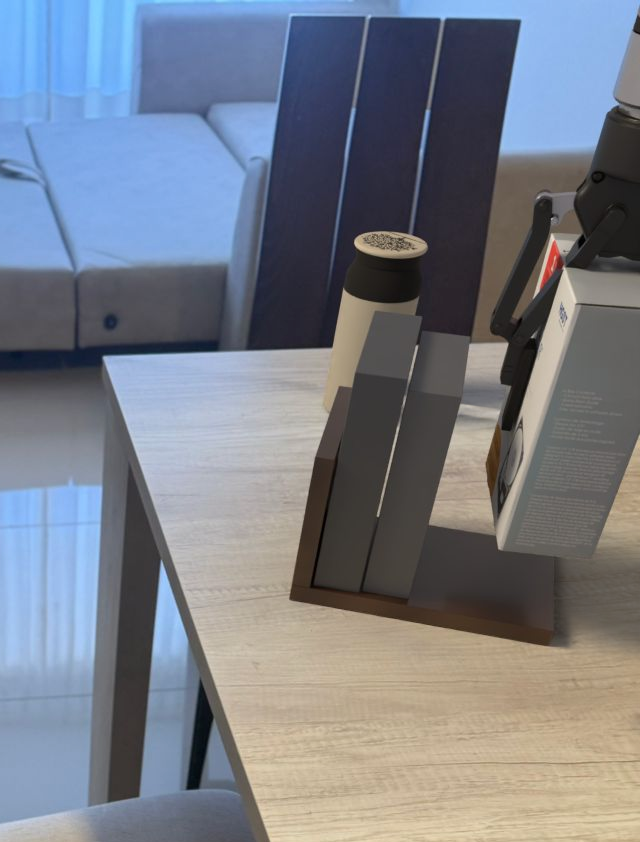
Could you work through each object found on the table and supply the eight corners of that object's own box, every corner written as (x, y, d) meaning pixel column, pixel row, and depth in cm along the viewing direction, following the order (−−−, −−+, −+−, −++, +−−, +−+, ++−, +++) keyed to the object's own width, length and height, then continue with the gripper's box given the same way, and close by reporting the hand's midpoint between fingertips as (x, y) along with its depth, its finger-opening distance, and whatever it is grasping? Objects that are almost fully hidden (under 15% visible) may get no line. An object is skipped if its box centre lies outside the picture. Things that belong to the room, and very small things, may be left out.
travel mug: (353, 429, 128) (388, 258, 116) (307, 403, 133) (336, 236, 121) (407, 415, 131) (447, 247, 119) (360, 389, 136) (394, 226, 124)
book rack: (548, 558, 108) (597, 420, 99) (548, 646, 97) (602, 500, 88) (313, 520, 113) (339, 385, 104) (288, 599, 102) (314, 457, 93)
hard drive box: (481, 466, 104) (550, 230, 91) (569, 475, 103) (652, 237, 90) (495, 552, 93) (576, 297, 79) (594, 563, 92) (694, 307, 78)
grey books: (421, 525, 109) (474, 322, 96) (408, 602, 99) (465, 387, 87) (334, 511, 111) (374, 310, 98) (312, 585, 101) (354, 372, 88)
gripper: (507, 108, 77) (426, 431, 93) (847, 136, 73) (703, 471, 88) (510, 86, 83) (433, 395, 98) (827, 110, 78) (694, 431, 93)
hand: (561, 431), depth 93 cm, fingers closed on hard drive box, 8 cm apart
